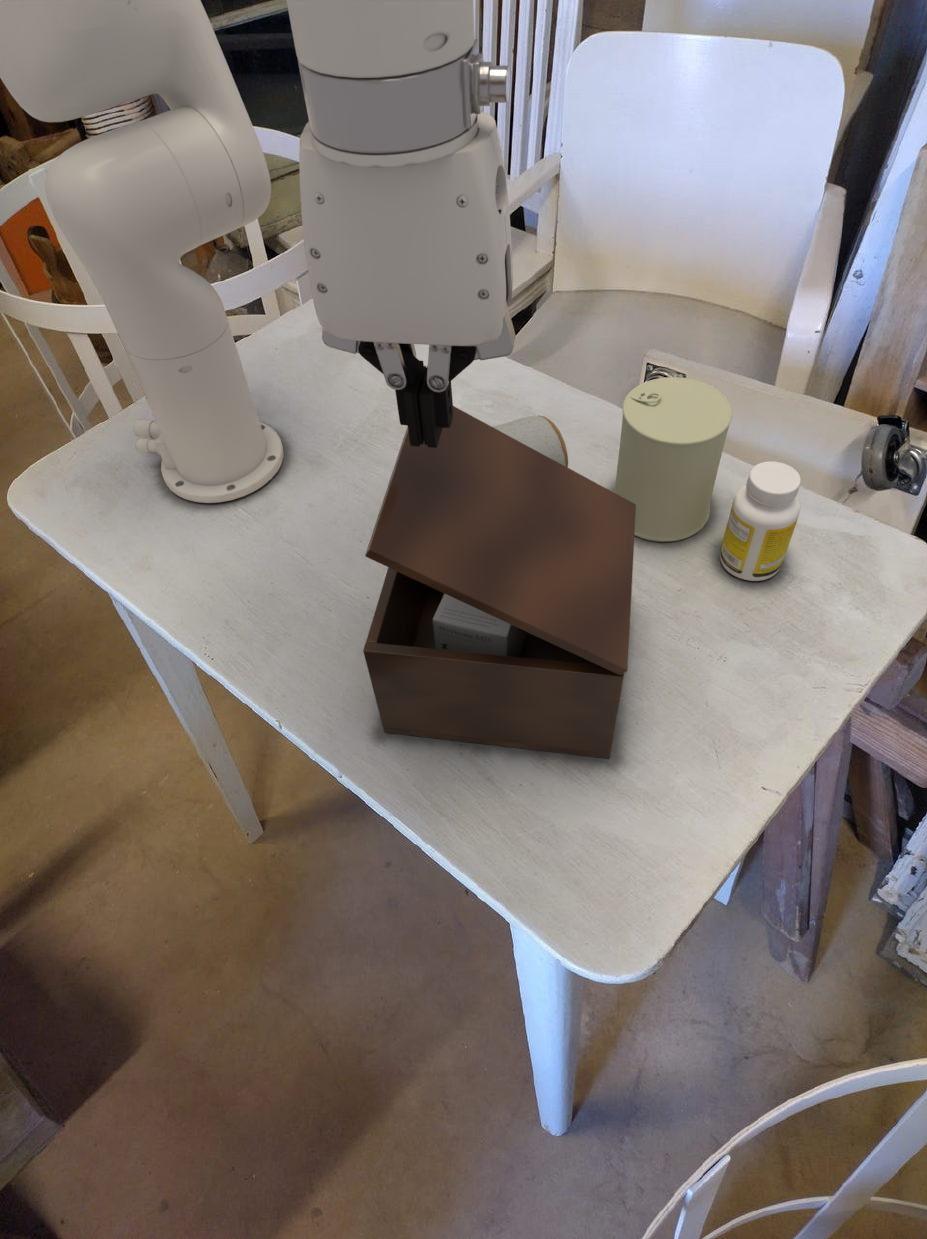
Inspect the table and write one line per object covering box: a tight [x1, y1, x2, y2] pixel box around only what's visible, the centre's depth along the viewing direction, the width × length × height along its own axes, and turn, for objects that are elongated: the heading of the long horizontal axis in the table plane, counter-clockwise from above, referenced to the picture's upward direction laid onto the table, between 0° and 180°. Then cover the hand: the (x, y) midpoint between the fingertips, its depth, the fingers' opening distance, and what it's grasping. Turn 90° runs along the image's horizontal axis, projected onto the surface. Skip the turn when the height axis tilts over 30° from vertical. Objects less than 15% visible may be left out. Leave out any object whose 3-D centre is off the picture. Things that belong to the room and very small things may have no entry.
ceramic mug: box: [492, 415, 569, 468], centre depth 79 cm, size 11×8×8 cm
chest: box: [362, 567, 625, 759], centre depth 63 cm, size 18×16×11 cm
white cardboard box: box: [433, 594, 527, 657], centre depth 64 cm, size 6×6×7 cm
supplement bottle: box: [719, 461, 802, 582], centre depth 69 cm, size 5×5×10 cm
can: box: [613, 376, 733, 543], centre depth 73 cm, size 9×9×12 cm
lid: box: [364, 405, 636, 675], centre depth 55 cm, size 18×16×1 cm
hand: (428, 432), depth 50 cm, fingers closed
